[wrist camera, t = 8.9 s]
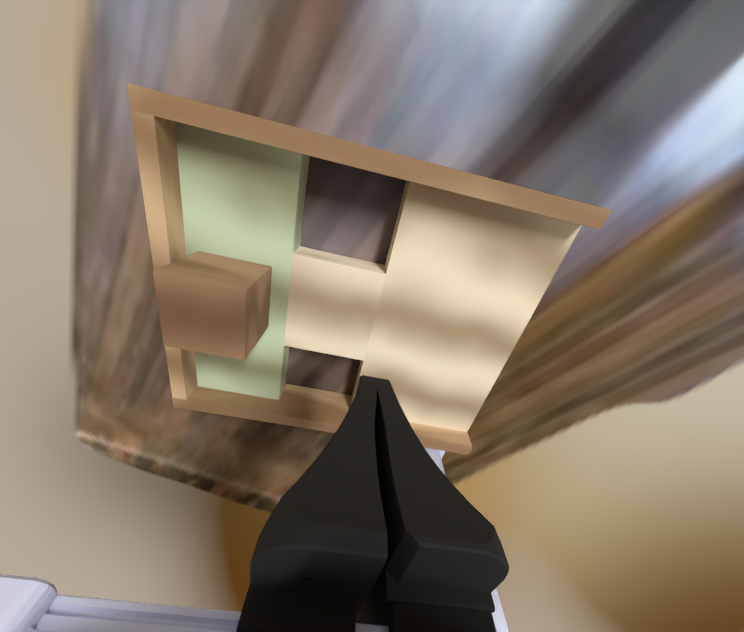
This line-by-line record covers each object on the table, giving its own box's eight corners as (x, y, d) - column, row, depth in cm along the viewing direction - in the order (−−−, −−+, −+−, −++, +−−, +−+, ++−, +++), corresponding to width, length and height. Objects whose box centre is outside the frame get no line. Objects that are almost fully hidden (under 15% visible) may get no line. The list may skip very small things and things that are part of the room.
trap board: (457, 421, 26) (468, 454, 23) (199, 377, 24) (173, 406, 21) (569, 204, 17) (611, 210, 14) (177, 101, 15) (126, 82, 12)
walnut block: (268, 326, 20) (244, 360, 16) (203, 313, 19) (163, 345, 16) (272, 266, 17) (245, 290, 14) (198, 250, 17) (152, 270, 14)
